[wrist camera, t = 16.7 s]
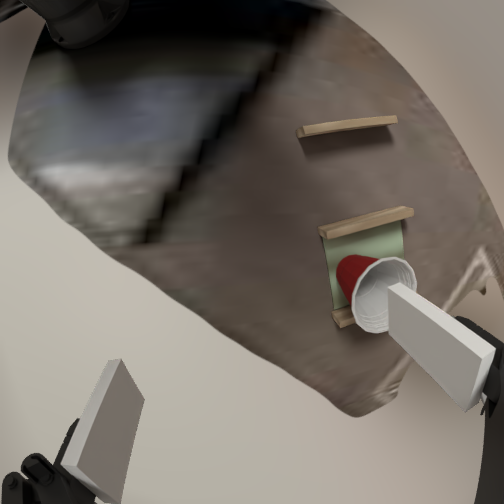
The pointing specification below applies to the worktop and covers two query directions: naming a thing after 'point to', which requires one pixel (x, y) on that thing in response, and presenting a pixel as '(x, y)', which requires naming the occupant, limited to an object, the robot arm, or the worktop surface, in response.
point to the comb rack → (358, 225)
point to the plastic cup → (372, 287)
